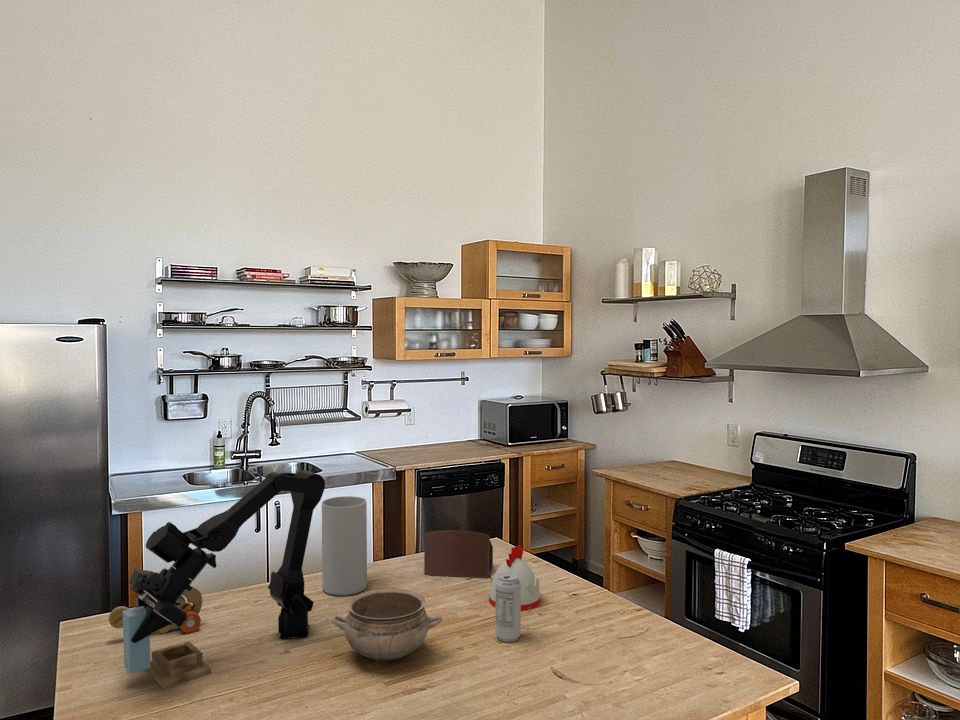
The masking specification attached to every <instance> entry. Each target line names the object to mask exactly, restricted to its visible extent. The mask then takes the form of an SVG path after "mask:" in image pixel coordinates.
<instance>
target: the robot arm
mask: <svg viewBox="0 0 960 720" xmlns="http://www.w3.org/2000/svg"><path fill="white" fill-rule="evenodd" d="M325 488H326V480H325V479H324V477H323V476H322V475H320V474H318V473H315V472H312V471H309V470H306V469H305V470H304V469H301V470H299V471H297V472H294V473H293V472H276V471H273V472H270V473H268V474H267V475H266V476H265V478H264V479H263V480H262V481H260V482H259V483H258V484H257V485H256V486H254V487H253V488H252V489H251V490H250V491H249V492H247V493H246V494H245V495H244V496H243V497H241V498H240V499H239V500H238V501H236V502H235V503H234V504H232V506H230V507H229V508H228V509H227V510H225V511H223V512H221V513H218V514H216V515H213V516H211V517H210V518H207V519H206V520H205V521H203V522H201V523H200V524H199V525H198V526H197V527H195V528H193V529H189V530H187V531H183V532H182V531H181V530H180V529H179V528H178V527H177V526H176V525H175V524H174V523H173V522H171V521H168V522H166V523H165V524H164V525H162V526H161V527H159V528H158V529H156V530H155V531H153V532H152V533H151V535H150V536H149V537H148V539H147V541H146V543H145V548H146V549H147V550H148V551H150V552H151V553H152V554H154V555H155V556H157V557H158V558H159V559H161V560H162V561H164V562H165V563H172V562H173V563H172V565H171V566H170V567H169V568H167V567H164V568H162V569H161V571H160V572H155V571H151V570H145V569H140V568H134V569H133V571H132V574H131V576H130V579H129V581H128V585H131V588H130V589H131V590H132V591H133V592H134V593H136V594H139V595H136V594H135V595H134V600H135V607H136V608H137V607H141V606H143V607H144V608H145V609H147V614H146V618H145V619H144V620H143V622H142V623H141V625H140V626H139V628H138V629H137V631H136V632H135V634H134V636H133V637H132V639H131V641H132V642H133V643H137V642H138V641H140V640H142V639H144V638H145V637H147V636H149V635H150V636H151V635H152V634H154V633H156V632H158V631H159V630H160V629H162V628H164V627H166V626H168V625H172V624H173V623H174V624H176V625H177V626H179V627H181V626H182V625H183V624H184V623H185V621H186V620H187V613H186V612H184V611H183V610H182V609H181V608H179V607H178V605H179V604H178V603H177V601H178V599H179V598H180V597H181V596H182V597H183V595H182V594H183V593H184V592H185V591H186V589H187V590H188V591H189V592H190V590H191V589H192V588H193V587H194V586H193V587H191V586H192V583H193V582H194V581H195V579H196V578H197V577H198V576H199V575H200V573H201V572H202V571H203V569H204V568H205V567H206V566H207V565H209V566H211V568H213V569H215V568H217V559H216V558H217V555H216V554H214V553H216V552H217V553H218V552H222V551H223V550H224V549H226V548H227V547H228V545H229V544H230V543H231V542H232V541H233V540H234V539H235V538H236V536H237V534H238V532H239V530H240V529H241V527H242V526H243V524H245V523H246V522H247V521H249V519H251V518H252V516H254V515H255V514H256V513H257V512H259V510H261V509H262V508H263V507H264V506H265V505H267V504H268V503H269V502H270V501H271V500H272V499H273V498H274V497H275V496H277V495H278V494H279V493H281V492H290V497H291V501H292V502H291V503H292V506H293V507H292V512H291V513H292V514H291V518H290V522H289V523H290V524H289V529H288V533H287V538H286V544H285V547H284V548H285V549H284V553H283V557H282V563H281V566H279V567H280V568H279V569H278V570H277V572H276V571H271V573H270V581H269V584H268V585H267V589H269V596H270V597H271V599H272V600H274V601H275V602H276V604H277V605H278V606H279V607H281V609H280V612H279V614H278V619H277V621H278V623H277V626H278V627H277V630H278V635H279V639H281V640H284V639H285V640H286V639H299V638H300V639H301V638H307V637H308V636H309V631H310V624H309V612H311V611H312V610H313V607H314V601H313V600H312V599H311V598H309V597H308V596H307V595H305V584H306V583H305V579H304V572H303V564H304V559H305V553H306V550H307V543H308V538H309V534H310V529H311V524H312V519H313V513H314V510H315V508H316V507H317V506H318V505H319V503H320V502H321V500H322V497H323V495H324V492H325ZM190 545H192V546H194V547H195V548H192V547H190ZM203 549H207V551H210V553H207V552H206V551H204V550H203ZM170 621H171V622H170ZM172 622H173V623H172Z"/></svg>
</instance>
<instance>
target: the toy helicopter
mask: <svg viewBox="0 0 960 720" xmlns="http://www.w3.org/2000/svg"><path fill="white" fill-rule="evenodd" d="M190 586H191V587H193V588H192V589H191V590H190V592H189V591H188V590H187V589H186V591H185V592H184V593H183V594H182V596H181V597H180V598H179V599H178V601H177V603H178V604H179V605H178V607H179V608H181V609H182V610H183V611H184V612H186V613H187V620H186V621H185V623H184V624H183V625H182V626H181V627H179V626H177V625H176V624H174V623H173V622H172V623H173V624H172V625H168V626H166V627H164V628H162V629H160V630H158V631H159V633H160V634H166V633H168V632H169V631H170V630H172V629H179V628H180V629H181V631H183V632H184V633H188V634H189V633H193V632H195V631H197V630H198V629H199V627H200V626H201V622H202V621H201V620H202V619H201V617H200V615H199V613H200V611H201V609H202V606H203V595H202V593H201V592H200V591H199V589H198V588H196V587H195V586H192V585H190ZM186 601H187V602H186ZM133 608H136V606H134V607H132V608H131V607H126V606H123V605H122V606H116V607H115V608H113V609H112V611H111V612H110V613H109V615H108V622H109V625H110V626H111V627H112V628H114V629H123V611H126V610H130V609H133ZM170 622H171V621H170Z"/></svg>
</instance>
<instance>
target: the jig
mask: <svg viewBox="0 0 960 720" xmlns="http://www.w3.org/2000/svg"><path fill="white" fill-rule="evenodd" d="M203 655H204V654H203V652H202V651H201V650H200V649H198V647H196V646H195V645H194V644H193V643H192V642H191V641H189V640H187V641H183V642H181V643H178V644H174V645H171V646H167V647H163V648H161V649H157V650H154V651H153V650H152V651H151V660H150V663H151V668H148V669H145V670H144V671H146V672H147V673H148V675H150V676H151V677H152V678H153V680H154V681H155V682H156V683H157V684H158V685H159V686H160V687H161V688H162V690H164V689H167V688H170V687H173V686H177V685H179V684H182V683H185V682H188V681H191V680H193V679H197V678H200V677H203V676H206V675H209V674H212V668H211V667H210V666H209V665H208V664H207V663H206V662H205V661H203V658H204V657H203Z"/></svg>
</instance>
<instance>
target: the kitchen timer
mask: <svg viewBox="0 0 960 720" xmlns="http://www.w3.org/2000/svg"><path fill="white" fill-rule="evenodd" d="M510 551H511V552H509V553H508V558H505V561H504V562H503V563H501V564H500V565H499V567H498V568H497V569H496V572H494V574H492V575H490V584H491V585H490V587H489V590H488V591H489V592H488V603H489V602H490V603H489V604H490V605H491V606H492V607H493V608H495V609H496V581H497V580H498V576H499V575H500V574H502V573H514V574H516V575H518V579H519V581H520V583H521V612H525V611H529V610H533V609H534V608H538V607H539V605H540V604H541V593H540V581H539V577H536V576H535V574H534V572H533V570H532V569H531V567H530V565H528V564H527V562H525V561H524V560H523V554H524V548H523V547H522V545H519V544H518V545H517V546H514V547H511V549H510Z"/></svg>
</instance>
